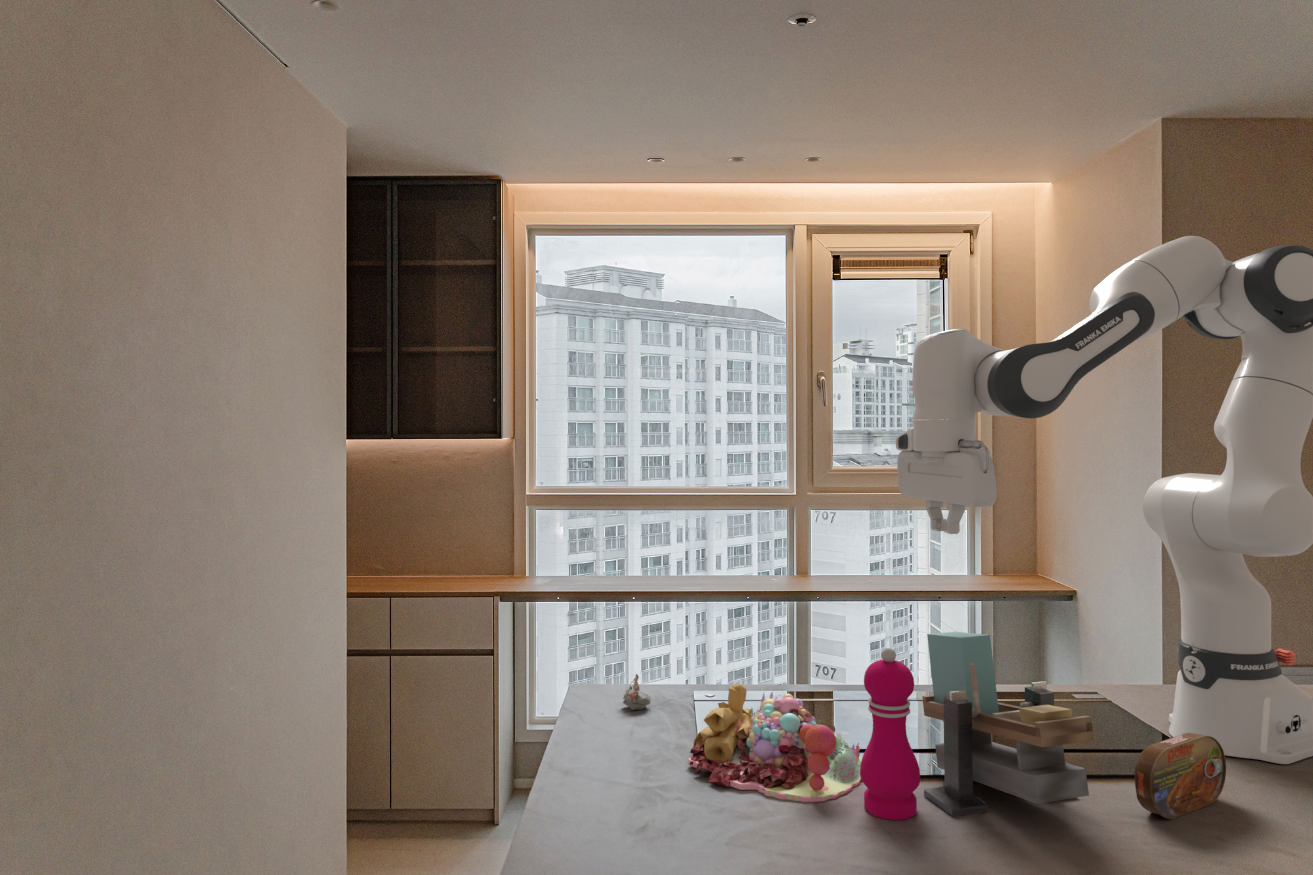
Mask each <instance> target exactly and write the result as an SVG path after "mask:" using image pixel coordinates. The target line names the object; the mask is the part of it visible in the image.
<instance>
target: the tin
mask: <svg viewBox="0 0 1313 875" xmlns="http://www.w3.org/2000/svg"><path fill="white" fill-rule="evenodd" d="M1139 754H1140V755H1138V758H1137V760H1136V763H1135V766H1134V784H1135V786H1134V787H1135V795H1136V799H1137V801H1138V803H1139V804H1140V806H1141V807H1142V808H1143V809H1144V810H1146V811H1148V812H1150V813H1153V814H1155V815H1158V816H1161V817H1163V818H1164V819H1167V820H1175V819H1178V818H1180V817H1182V816H1186V815H1188V814H1190V813H1193V812H1195V811H1197V810H1199V809H1203V808H1205V807H1208V806H1210V805H1212V804H1213V803H1216V801H1217V800H1218V799H1219V797H1220V795H1221V794H1222V792H1223V789H1224V786H1225V782H1226V776H1227V761H1226V760H1227V759H1226V755H1224V751H1223V749H1222V747H1221V745H1220V743H1219V742H1218V741H1217V740H1216V739H1215V738H1213V737H1211V736H1203V735H1199V734H1195V733H1185V734H1182V735H1179V736H1176V737H1173V736H1172V737H1170V738H1167V739H1165V740H1161V741H1159V742H1158V741H1157V742H1155V743H1152V744H1149V745H1148V746H1146V747H1145V748H1144V749H1143V750H1142V751H1141V752H1140V753H1139Z"/></svg>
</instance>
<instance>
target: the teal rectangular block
mask: <svg viewBox="0 0 1313 875" xmlns="http://www.w3.org/2000/svg"><path fill="white" fill-rule="evenodd" d="M926 635H927V637H926V638H927V646H928V654H929V663H930V664H929V665H930V674H931V682H932V692H933V693H932V694H933V695H934V702H938V703H942V704H944V697H945V696H950V692H953V691H962V690H964V691H966V700H968V701H970V702H972V709H973V708H974V700H973V691H972V682H971V673H970V664H975V666H976V675H977V683H978V692H979V701H980V710H981V713H984V714H992V713H999V708H998V702H999V701H998V693H997V691H998V690H997V682H996V675H995V667H994V666H995V665H994V659H993V648H992V641H991V640H992V639H991V635H990V634H984V633H972V632H963V631H960V632H959V631H947V632H946V631H945V632H937V633H927V634H926Z"/></svg>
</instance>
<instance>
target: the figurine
mask: <svg viewBox="0 0 1313 875" xmlns="http://www.w3.org/2000/svg"><path fill="white" fill-rule="evenodd" d="M634 677H635V678H633V680H632V681H630V683H629V685H628V686H627V687H626V689H625V690H624V694H623V695H622V696H623V697H622V700H623V702H622V703H623V705H625V706H627V707H628V708H629V709H630V710H632V711H637V710H643V709H645V708H647V706H648V705H650V704H651V699H652V697H651V695H649V694H647V693H646V692H645V693H644V692H642V691H641V689H640V686H639V681H638V680H640V677H639V675H638V674H637V673H635V676H634ZM632 683H633V685H632V686H631V684H632Z"/></svg>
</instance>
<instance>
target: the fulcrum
mask: <svg viewBox="0 0 1313 875" xmlns="http://www.w3.org/2000/svg"><path fill="white" fill-rule="evenodd" d="M1047 684H1048V682H1047V681H1045V680H1043V681H1035V682H1034V681H1033V682H1031V685H1030V686H1025V687H1024V702H1032V704H1033V706H1041V705H1052V706H1055V692H1053V691H1052V690H1051V691H1050V690H1048V685H1047ZM943 743H944V771H943V773H944V774H943V775H944V786H939V787H931V788H926V789H925V788H924V790H923V796H924V797H925V799H928V800H929V801H930V802H932V803H933V804H934V805H936V806H937V807H939V808H940V809H941V810H942V811H944V812H945V813H947V815H949V816H951V817H956V816H957V817H958V816H962V815H969V814H976V813H981V812H987V811H988V806H989V805H988V803H986V802H985V801H983V800H982V799H980V797H978V796H976V795H975V794H974V785H973V784H974V783H973V782H974V780H973V758H972V702H970V701H968V700H966V691H964V690H962V691H953V692H950V696H945V697H944V721H943Z"/></svg>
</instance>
